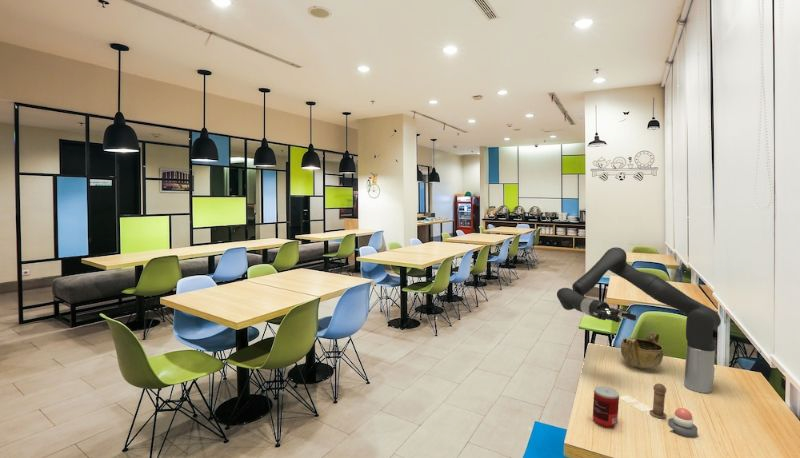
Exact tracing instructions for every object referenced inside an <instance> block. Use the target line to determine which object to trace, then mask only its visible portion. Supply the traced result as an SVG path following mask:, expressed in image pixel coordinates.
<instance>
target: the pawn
mask: <svg viewBox="0 0 800 458" xmlns="http://www.w3.org/2000/svg"><path fill="white" fill-rule="evenodd" d="M653 391H654V392H653V402H652V403H653V404H652V409H653V410H650V411H649V412H650V415H651V416H650V415H649V416H650V417H652V418H653V417H654V418H653V419H655V418H657V419H666V416H667V413H665V400H666V393H667V388H666V386H665V385H664V384H663V383H655V384H654V385H653ZM657 419H656V420H657ZM666 420H667V419H666Z"/></svg>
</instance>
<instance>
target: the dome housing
mask: <svg viewBox="0 0 800 458" xmlns="http://www.w3.org/2000/svg"><path fill="white" fill-rule="evenodd" d="M673 420H674V417H673V418H672V417H670V419H667V425H668V427H669V428H670V432H672V433H674V434H675V435H678V436H681V437H684V438H690V439H691V438H695V437H696V438H697V436H698V427H697V426H696V425H695V424H694V423H693V425H692V427H691V428H686V427H682V426H679V425H677V424H676V423H674V421H673ZM671 429H672V430H671Z"/></svg>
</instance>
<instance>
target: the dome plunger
mask: <svg viewBox="0 0 800 458" xmlns="http://www.w3.org/2000/svg"><path fill="white" fill-rule="evenodd" d="M692 414H693V413H692V412H690V410H688V409H687V408H684V407H679V408H677V409H675V411H674V413H673V418H674V420H673V421H674V423H676V424H677V425H679V426H682V427H686V428H691V427H692V425H693V424H694V418H693V415H692Z"/></svg>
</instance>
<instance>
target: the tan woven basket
mask: <svg viewBox="0 0 800 458" xmlns="http://www.w3.org/2000/svg"><path fill="white" fill-rule="evenodd" d="M646 336H647V337H646V338H645V339H644V338H643V339H642V338H638V337H624V338H622V339H621V343H620V352H621V356H622V358H623V360H625V361H626V363H628V364H629V365H631V366H632V367H634V368H636V369H639V370H642V371H643V370H645V371H649V370H653V369H655V368H657V367H658V366H659V365H660V364H661V363H662V361H663V357H664V347H663V346H662V345H661V344H659V340H660V335H659V333H656V332H653V331H649V333H648V334H647V335H646Z"/></svg>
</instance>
